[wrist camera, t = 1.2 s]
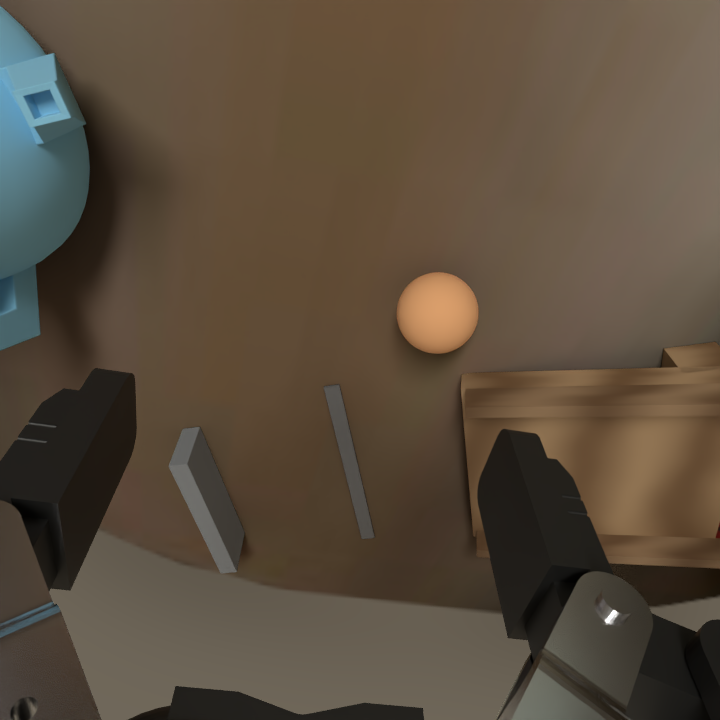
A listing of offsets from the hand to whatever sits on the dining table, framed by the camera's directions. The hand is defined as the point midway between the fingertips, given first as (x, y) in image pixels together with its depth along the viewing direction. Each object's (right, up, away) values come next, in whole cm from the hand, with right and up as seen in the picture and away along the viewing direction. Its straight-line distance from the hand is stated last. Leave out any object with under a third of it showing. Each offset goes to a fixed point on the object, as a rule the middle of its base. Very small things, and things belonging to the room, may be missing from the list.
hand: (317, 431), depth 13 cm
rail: (-9, -7, +30) cm, 32 cm away
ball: (+5, +4, +19) cm, 20 cm away
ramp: (+16, -4, +27) cm, 32 cm away
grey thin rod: (0, -6, +29) cm, 29 cm away
